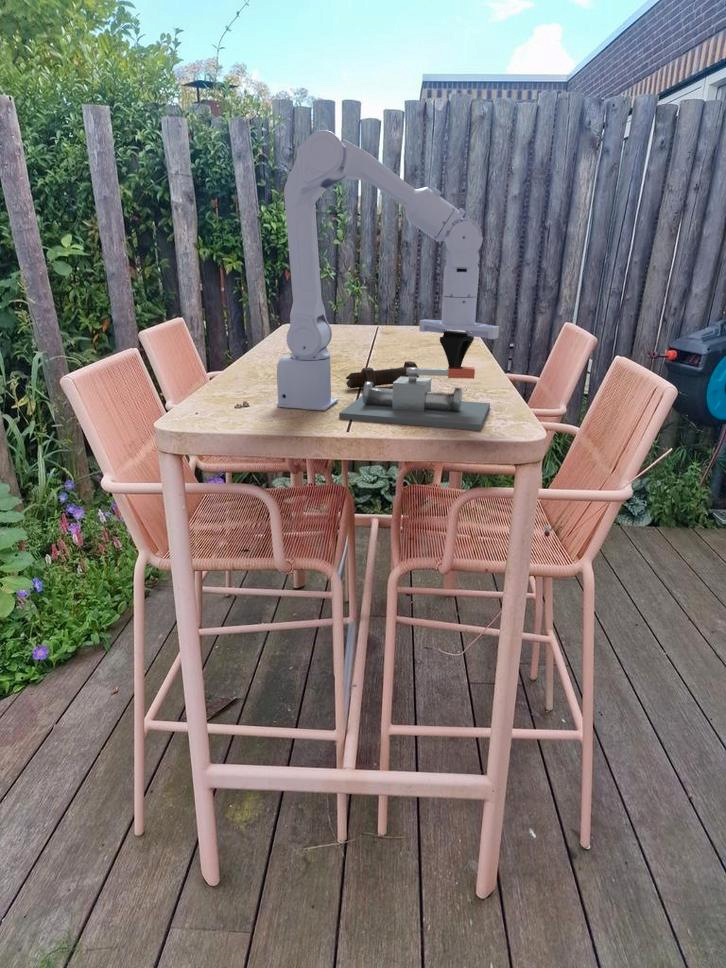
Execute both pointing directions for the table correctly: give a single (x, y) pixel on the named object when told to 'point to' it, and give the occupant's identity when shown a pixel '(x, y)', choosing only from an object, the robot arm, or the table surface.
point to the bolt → (378, 376)
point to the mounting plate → (420, 415)
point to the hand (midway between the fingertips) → (454, 376)
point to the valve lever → (444, 372)
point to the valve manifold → (412, 396)
